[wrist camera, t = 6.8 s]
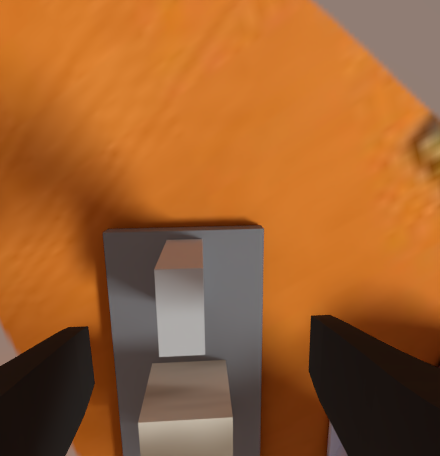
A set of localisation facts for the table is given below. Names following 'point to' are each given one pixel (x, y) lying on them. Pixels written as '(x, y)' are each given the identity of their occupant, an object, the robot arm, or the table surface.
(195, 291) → the gray plate with post
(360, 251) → the table surface
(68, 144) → the table surface
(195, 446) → the birch block
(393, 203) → the table surface
